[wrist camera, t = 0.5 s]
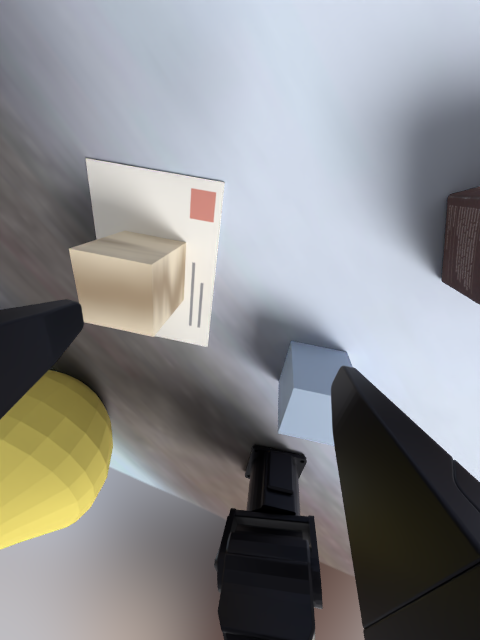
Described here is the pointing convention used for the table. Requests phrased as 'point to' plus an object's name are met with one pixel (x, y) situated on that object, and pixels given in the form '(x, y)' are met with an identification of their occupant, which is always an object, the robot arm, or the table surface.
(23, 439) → the vase
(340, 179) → the table surface
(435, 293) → the table surface
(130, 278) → the block
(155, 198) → the letter
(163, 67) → the table surface
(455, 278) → the box
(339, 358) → the cube
